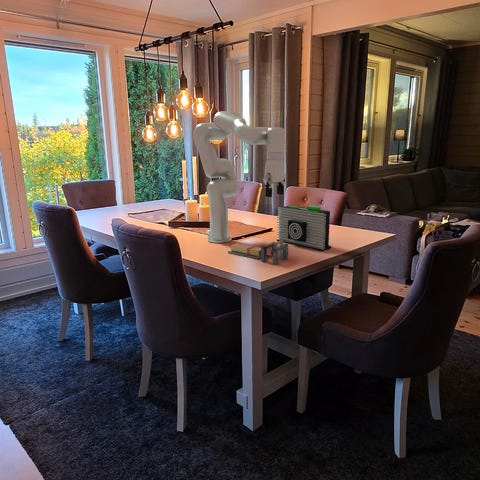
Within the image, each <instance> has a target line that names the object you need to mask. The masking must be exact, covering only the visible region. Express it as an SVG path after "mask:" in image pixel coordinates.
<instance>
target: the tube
mask: <svg viewBox="0 0 480 480" xmlns="http://www.w3.org/2000/svg"><path fill="white" fill-rule="evenodd" d="M230 249H231V251H232V252H237V253H242V254H246V255H251V256H256V257H261V247H257V246H254V245H247V244H243V243H234V244H231V247H230Z"/></svg>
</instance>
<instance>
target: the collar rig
mask: <svg viewBox="0 0 480 480" xmlns="http://www.w3.org/2000/svg"><path fill="white" fill-rule="evenodd" d="M277 245H279V246H277ZM260 248H261V260H260V262H262V263H265V262H267V260H268V259H267V258H268V257H267V252H268V251H267V250H268V249H270V248H271V250H270V251H271V252H270V253H271V254H270V258H272V265H278V264H279V258H280V259H282V260H284V261H287V260H288V259H289V244H287V243H283V240H280V241H272V242H270V243H267V244H265V245H262V246H261V247H260Z"/></svg>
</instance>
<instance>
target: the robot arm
mask: <svg viewBox="0 0 480 480" xmlns="http://www.w3.org/2000/svg"><path fill="white" fill-rule="evenodd" d="M285 132H286V131H285V128H283V127H267V126H252V125H248V124H247V121H246V119H245V118H244V117H242V116H241V114H239V113H238V112H236V111H229V110H227V111H225V110H224V111H223V110H221V111H218V112H217V113H216V114H215V115H214V116H213V122H202V123H199V124H197V125H196V126H195V128H194V130H193V137H192V138H193V141H194V145H195V148H196V149H197V152H198V155H199V157H200V161H201V165H202V168H203V171H204V174H205V177H207V178H208V179H214V180H211V181H210V182H208V184H207V186H206V194H207V198H208V203H209V204H208V206H209V207H208V208H209V209H208V211H209V230H207V231H206V232H205V235H207V236H208V237H206V238H207V242H209V243H215V244H221V243H222V244H224V243H228V242H230V241H232V236H229V208H228V207H229V206H228V202H227V201H226V198H230V197H234V196H235V195H237V194H238V193H239V183H238V180H237V176H236V172H235V170H234V167H233V164H232V162H231V161H230V160H229V159H227V158H219V157H218V155H217V151H216V148H215V147H214V145H213V144H212V143H211V141H222V140H224V139H226V138H228V137H229V136H231V135H234V136H235V137H236V138H237V140H238V141H240V142H243V143H244V144H245V143H246V144H248V145H253V146H257V145H258V146H259V145H262V146H263V145H266V160H265V165H264V175H263V179H262V181H263V185H264V188H265V189H264V190H265V191H264V193H265V194H264V195H265V197H266V198H272V197H273V185H274V184H277V185H276V194H277V195H284V191H285V190H284V189H285V188H284V187H285V183H286V178H287V175H286V173H285V161H284V160H285ZM215 178H217V179H215ZM218 178H220V179H218Z"/></svg>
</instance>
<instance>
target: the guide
mask: <svg viewBox="0 0 480 480" xmlns="http://www.w3.org/2000/svg"><path fill="white" fill-rule="evenodd" d="M227 253H228V254H229V255H233V256H234V255H235V256H240V257H243V258H244V257H246V258H249V259H254V260H259V261H261V257H256V256H251V255H246V254H242V253H237V252H232V251H230V250H227ZM267 258H271V254H269V253H268V254H267Z"/></svg>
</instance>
